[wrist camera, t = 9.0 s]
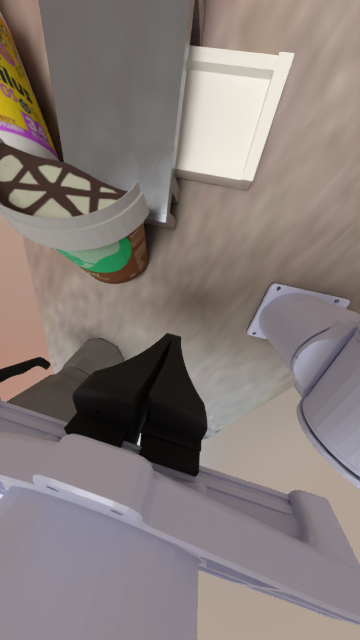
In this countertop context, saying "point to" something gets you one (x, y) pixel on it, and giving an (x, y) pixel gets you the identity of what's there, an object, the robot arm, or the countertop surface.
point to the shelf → (122, 89)
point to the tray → (227, 113)
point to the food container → (75, 214)
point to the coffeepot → (62, 379)
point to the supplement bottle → (20, 104)
